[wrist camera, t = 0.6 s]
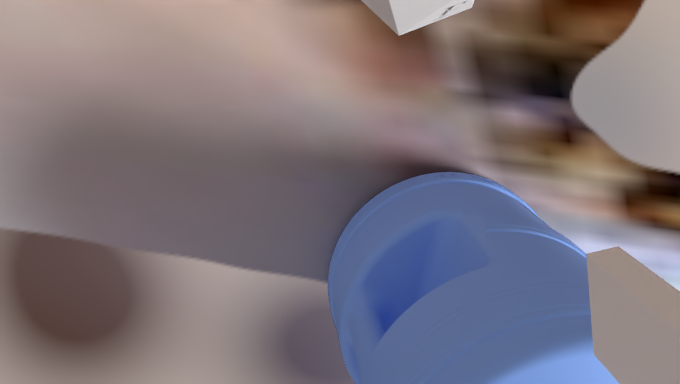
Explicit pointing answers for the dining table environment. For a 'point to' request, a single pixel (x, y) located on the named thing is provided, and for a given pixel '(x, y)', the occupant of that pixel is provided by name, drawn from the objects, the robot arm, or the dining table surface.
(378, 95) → the dining table surface
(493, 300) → the water jug
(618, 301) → the robot arm
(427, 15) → the die
